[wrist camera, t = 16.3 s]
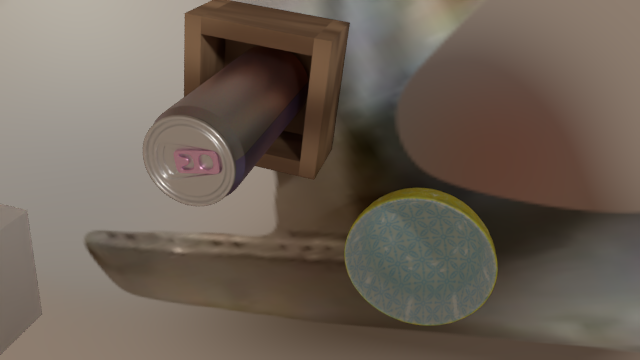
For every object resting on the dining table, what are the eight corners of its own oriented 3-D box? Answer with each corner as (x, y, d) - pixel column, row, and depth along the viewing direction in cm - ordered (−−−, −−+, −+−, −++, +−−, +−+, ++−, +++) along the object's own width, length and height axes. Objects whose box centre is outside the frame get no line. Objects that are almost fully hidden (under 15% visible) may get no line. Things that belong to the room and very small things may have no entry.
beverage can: (315, 116, 47) (245, 211, 34) (244, 116, 48) (152, 207, 35) (306, 40, 44) (227, 112, 31) (232, 43, 46) (127, 113, 33)
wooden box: (217, -2, 45) (184, 13, 41) (349, 22, 44) (331, 41, 39) (212, 122, 50) (183, 149, 46) (331, 149, 49) (314, 179, 44)
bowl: (357, 269, 54) (341, 313, 48) (361, 153, 48) (345, 188, 43) (487, 289, 51) (486, 338, 46) (507, 169, 46) (509, 209, 40)
